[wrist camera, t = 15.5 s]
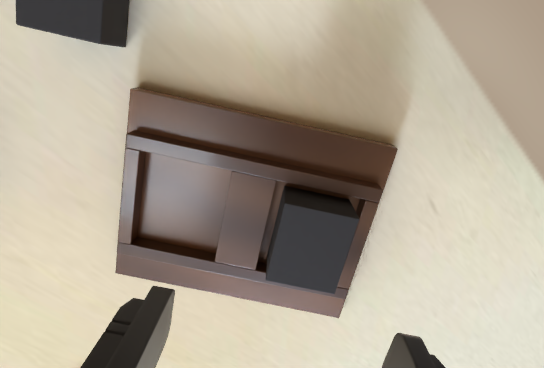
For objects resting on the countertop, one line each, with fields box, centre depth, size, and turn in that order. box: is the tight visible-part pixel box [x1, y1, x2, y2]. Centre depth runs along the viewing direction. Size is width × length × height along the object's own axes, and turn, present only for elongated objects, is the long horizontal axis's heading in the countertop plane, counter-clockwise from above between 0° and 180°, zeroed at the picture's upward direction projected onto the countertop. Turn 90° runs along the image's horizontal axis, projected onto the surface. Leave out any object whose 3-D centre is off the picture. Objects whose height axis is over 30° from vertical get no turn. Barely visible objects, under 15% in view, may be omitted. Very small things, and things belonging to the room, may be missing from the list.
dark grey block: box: [266, 186, 359, 294], centre depth 25 cm, size 6×5×4 cm
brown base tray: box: [116, 88, 397, 318], centre depth 26 cm, size 15×19×2 cm
